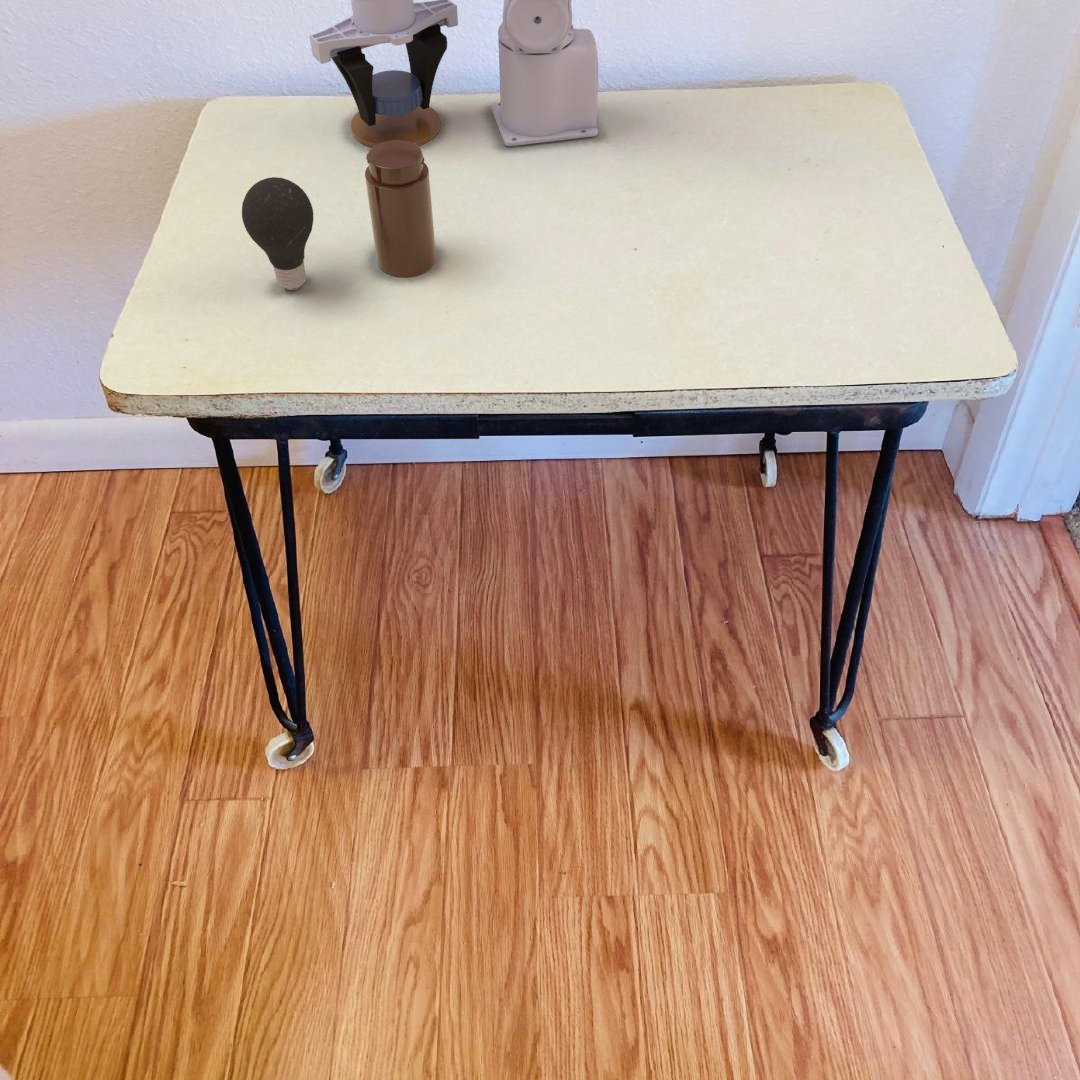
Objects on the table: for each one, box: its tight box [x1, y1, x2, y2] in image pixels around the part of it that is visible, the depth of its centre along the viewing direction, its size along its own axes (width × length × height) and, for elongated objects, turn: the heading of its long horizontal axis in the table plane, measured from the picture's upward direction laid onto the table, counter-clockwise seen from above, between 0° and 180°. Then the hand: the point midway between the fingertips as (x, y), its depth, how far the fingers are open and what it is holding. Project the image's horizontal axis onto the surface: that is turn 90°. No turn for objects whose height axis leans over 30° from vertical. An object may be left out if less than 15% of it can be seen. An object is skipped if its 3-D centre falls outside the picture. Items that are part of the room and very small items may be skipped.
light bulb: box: [241, 176, 314, 291], centre depth 89 cm, size 6×6×10 cm
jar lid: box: [372, 69, 423, 116], centre depth 107 cm, size 6×6×2 cm
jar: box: [364, 140, 437, 278], centre depth 91 cm, size 5×5×10 cm
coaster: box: [350, 106, 442, 148], centre depth 110 cm, size 9×9×1 cm
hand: (394, 112), depth 109 cm, fingers closed on jar lid, 5 cm apart
